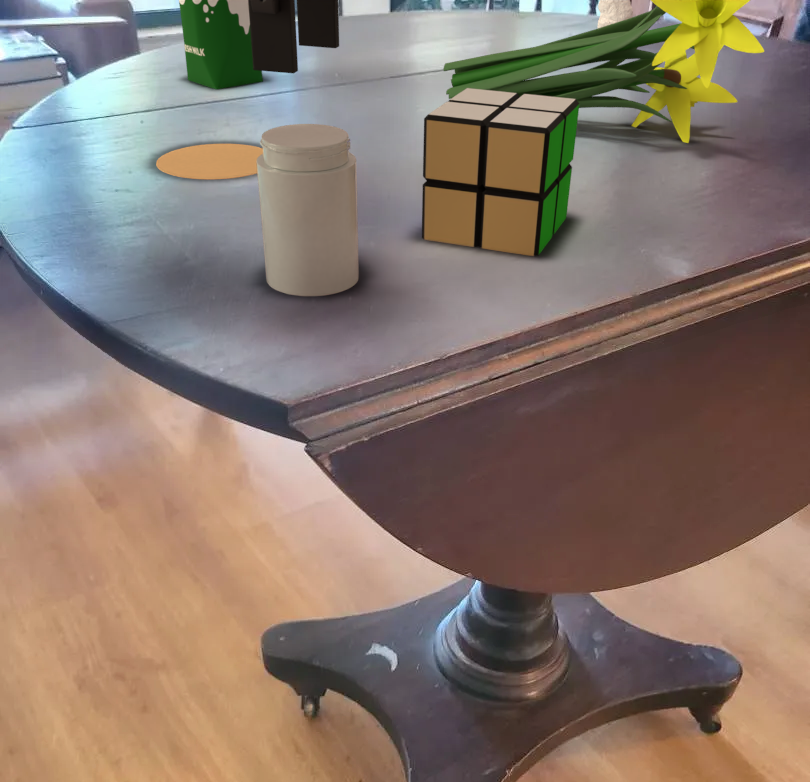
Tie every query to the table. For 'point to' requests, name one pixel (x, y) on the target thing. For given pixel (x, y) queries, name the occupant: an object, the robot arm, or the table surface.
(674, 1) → the daffodil flowers
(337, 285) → the jar
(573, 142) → the puzzle cube
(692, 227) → the table surface
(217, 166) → the coaster
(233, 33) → the milk carton
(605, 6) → the koala figurine
